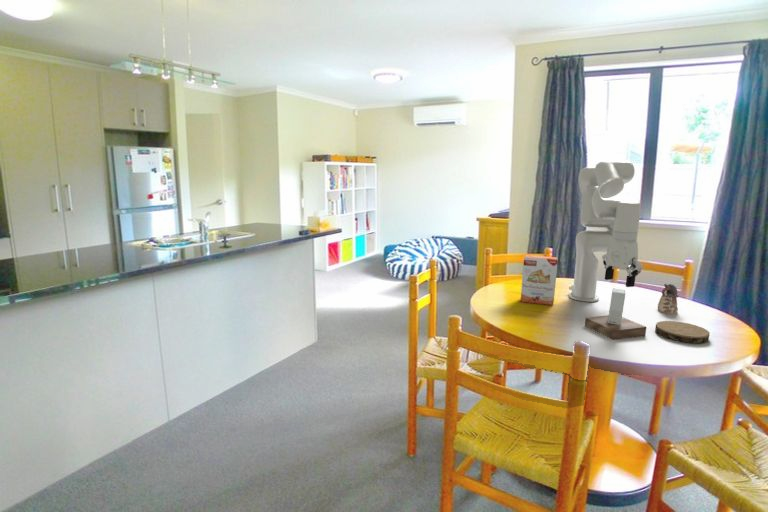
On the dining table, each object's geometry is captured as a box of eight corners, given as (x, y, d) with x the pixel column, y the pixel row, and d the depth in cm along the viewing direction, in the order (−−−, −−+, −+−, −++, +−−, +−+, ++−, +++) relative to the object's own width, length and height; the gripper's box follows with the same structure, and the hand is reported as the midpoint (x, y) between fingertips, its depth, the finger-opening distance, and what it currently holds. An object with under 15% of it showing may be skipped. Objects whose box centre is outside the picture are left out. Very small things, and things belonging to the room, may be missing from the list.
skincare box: (620, 325, 153) (625, 293, 151) (607, 323, 155) (612, 291, 153) (621, 320, 159) (625, 289, 156) (608, 318, 161) (612, 287, 158)
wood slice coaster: (689, 347, 143) (690, 339, 143) (645, 331, 158) (645, 324, 157) (718, 341, 150) (720, 332, 149) (673, 326, 164) (674, 318, 163)
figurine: (680, 314, 177) (684, 286, 174) (661, 313, 178) (665, 285, 176) (672, 309, 183) (676, 282, 181) (654, 308, 185) (658, 281, 183)
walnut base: (584, 327, 163) (585, 317, 162) (614, 324, 166) (615, 314, 166) (612, 341, 149) (614, 330, 149) (645, 337, 153) (646, 326, 152)
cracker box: (520, 302, 192) (523, 256, 188) (521, 298, 197) (524, 254, 193) (553, 306, 187) (557, 259, 183) (553, 302, 192) (557, 256, 188)
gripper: (597, 232, 158) (592, 277, 162) (636, 241, 142) (629, 290, 146) (614, 232, 160) (609, 276, 164) (654, 240, 144) (647, 288, 148)
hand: (618, 282), depth 155 cm, fingers open, 9 cm apart
